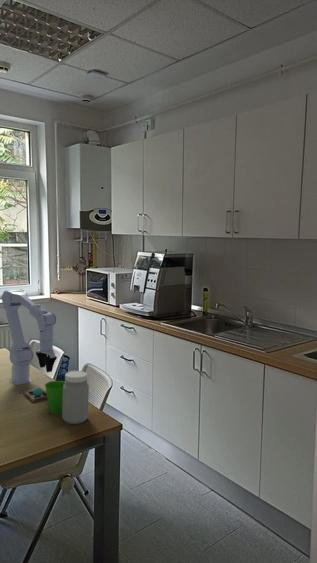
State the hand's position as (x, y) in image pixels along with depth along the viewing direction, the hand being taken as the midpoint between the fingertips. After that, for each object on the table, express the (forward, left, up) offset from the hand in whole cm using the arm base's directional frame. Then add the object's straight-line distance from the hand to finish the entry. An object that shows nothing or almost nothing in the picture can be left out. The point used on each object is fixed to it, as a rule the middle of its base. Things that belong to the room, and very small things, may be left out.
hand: (45, 369), depth 185 cm
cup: (+23, -5, -10) cm, 26 cm away
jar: (+34, -2, -10) cm, 36 cm away
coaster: (-2, -9, -10) cm, 13 cm away
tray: (+6, -6, -10) cm, 13 cm away
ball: (+6, -6, -9) cm, 13 cm away
